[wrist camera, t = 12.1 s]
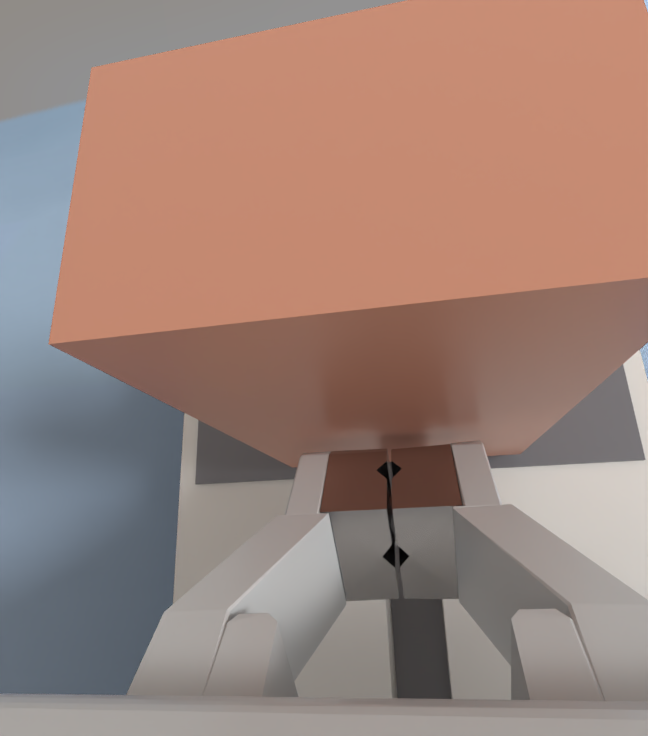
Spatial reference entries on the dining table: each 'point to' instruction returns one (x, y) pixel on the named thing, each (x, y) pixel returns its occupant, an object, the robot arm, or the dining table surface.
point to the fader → (369, 224)
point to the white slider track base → (398, 616)
